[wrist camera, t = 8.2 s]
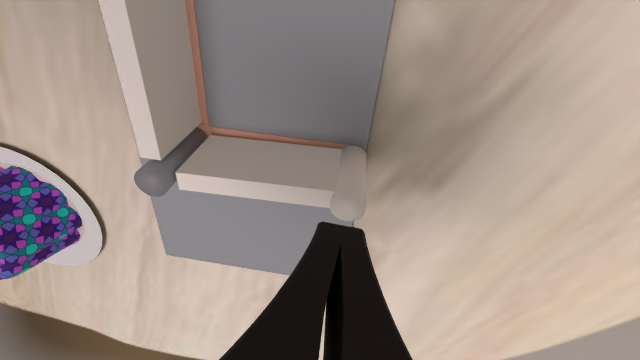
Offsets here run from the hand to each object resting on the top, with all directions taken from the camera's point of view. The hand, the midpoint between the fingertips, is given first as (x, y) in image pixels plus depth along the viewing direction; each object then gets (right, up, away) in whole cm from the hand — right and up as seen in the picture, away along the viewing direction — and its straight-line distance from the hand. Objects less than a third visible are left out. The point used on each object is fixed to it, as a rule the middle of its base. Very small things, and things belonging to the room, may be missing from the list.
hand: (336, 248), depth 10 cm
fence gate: (-2, +4, +8) cm, 9 cm away
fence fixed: (-7, +8, +6) cm, 13 cm away
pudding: (-23, 0, +16) cm, 28 cm away
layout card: (-5, +4, +9) cm, 11 cm away
